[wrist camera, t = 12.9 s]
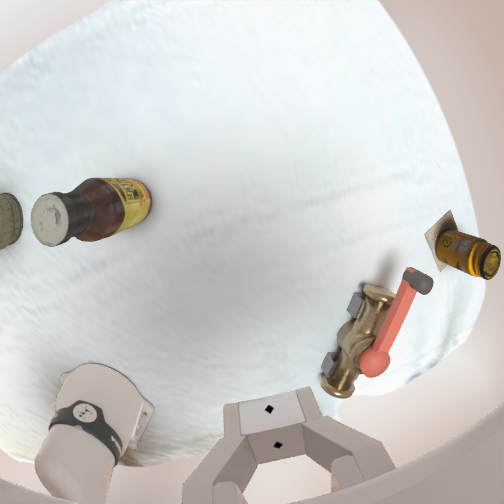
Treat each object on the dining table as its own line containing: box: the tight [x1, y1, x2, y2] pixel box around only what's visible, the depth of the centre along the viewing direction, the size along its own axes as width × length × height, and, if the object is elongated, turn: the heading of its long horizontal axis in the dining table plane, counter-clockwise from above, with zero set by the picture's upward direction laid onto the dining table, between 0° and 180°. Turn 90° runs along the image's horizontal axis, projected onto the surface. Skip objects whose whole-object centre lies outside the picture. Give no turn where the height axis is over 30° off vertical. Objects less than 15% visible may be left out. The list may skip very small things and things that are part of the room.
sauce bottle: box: [31, 178, 152, 247], centre depth 27 cm, size 6×6×20 cm
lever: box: [358, 267, 433, 378], centre depth 34 cm, size 4×16×4 cm, turn 163°
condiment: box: [425, 210, 501, 280], centre depth 37 cm, size 7×8×12 cm
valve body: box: [320, 284, 396, 399], centre depth 41 cm, size 18×6×7 cm, turn 163°
